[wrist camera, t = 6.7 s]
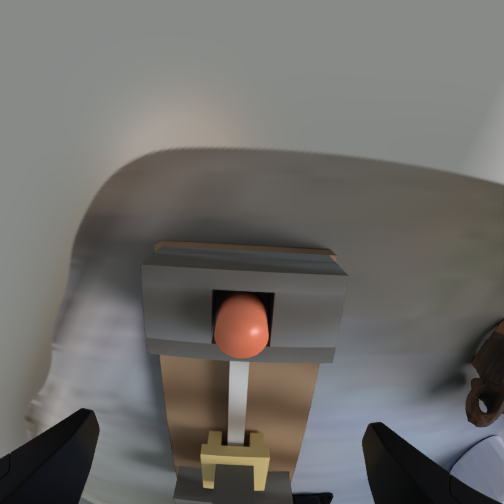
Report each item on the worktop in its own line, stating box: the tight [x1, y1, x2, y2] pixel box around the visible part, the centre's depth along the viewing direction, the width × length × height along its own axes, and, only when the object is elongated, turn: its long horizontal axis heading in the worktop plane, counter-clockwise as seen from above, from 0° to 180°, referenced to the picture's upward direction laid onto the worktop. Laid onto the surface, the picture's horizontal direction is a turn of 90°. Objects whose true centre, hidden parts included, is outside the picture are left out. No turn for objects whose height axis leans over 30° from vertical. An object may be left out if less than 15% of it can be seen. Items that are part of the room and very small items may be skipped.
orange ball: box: [214, 291, 269, 359], centre depth 15 cm, size 2×2×2 cm
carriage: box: [201, 431, 270, 504], centre depth 19 cm, size 5×5×8 cm
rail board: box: [141, 241, 348, 504], centre depth 20 cm, size 24×11×6 cm, turn 177°
